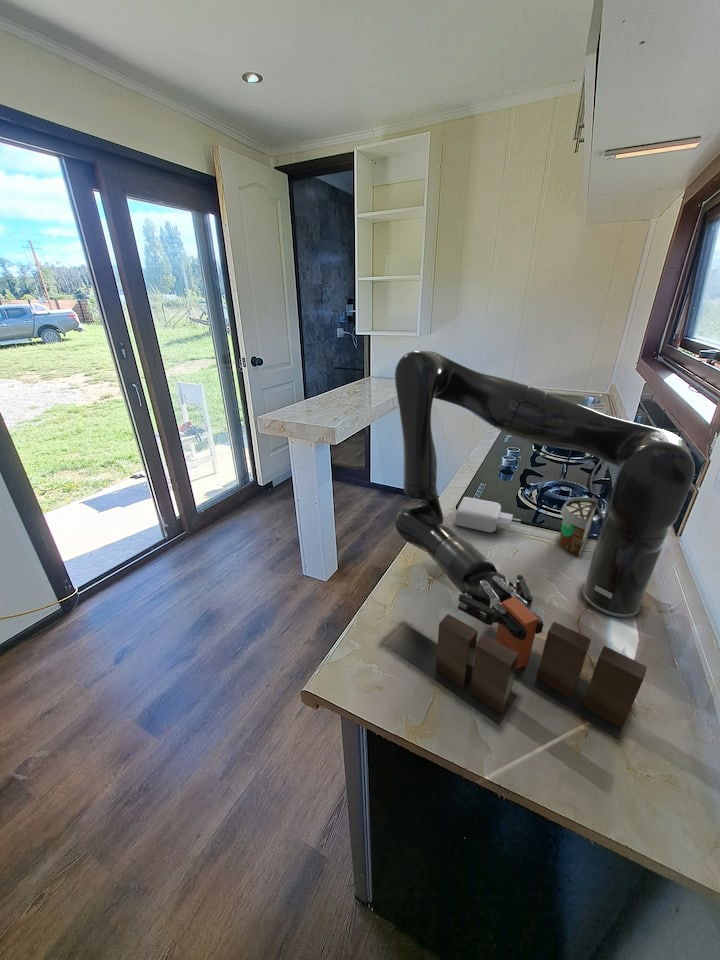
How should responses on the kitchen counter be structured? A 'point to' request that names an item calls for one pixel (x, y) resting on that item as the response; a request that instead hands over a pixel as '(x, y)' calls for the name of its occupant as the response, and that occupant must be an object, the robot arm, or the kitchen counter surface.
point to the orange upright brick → (514, 643)
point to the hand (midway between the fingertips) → (532, 632)
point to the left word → (462, 664)
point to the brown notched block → (595, 701)
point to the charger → (482, 515)
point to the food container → (576, 523)
